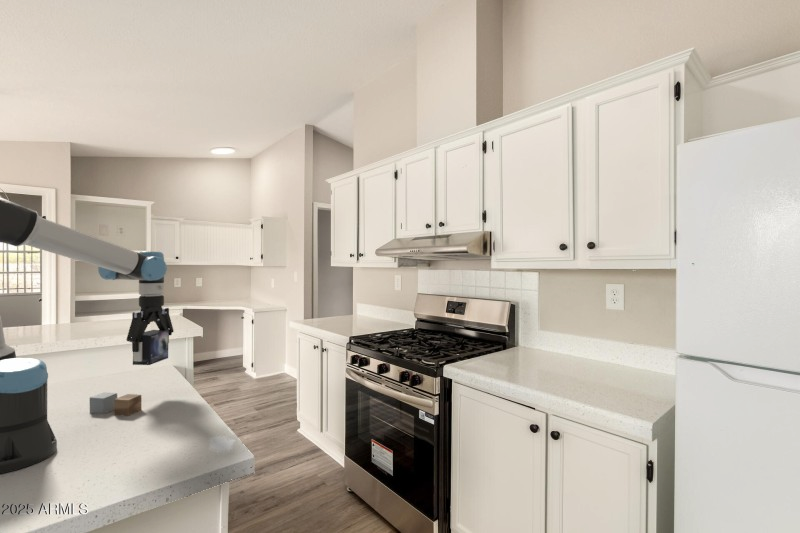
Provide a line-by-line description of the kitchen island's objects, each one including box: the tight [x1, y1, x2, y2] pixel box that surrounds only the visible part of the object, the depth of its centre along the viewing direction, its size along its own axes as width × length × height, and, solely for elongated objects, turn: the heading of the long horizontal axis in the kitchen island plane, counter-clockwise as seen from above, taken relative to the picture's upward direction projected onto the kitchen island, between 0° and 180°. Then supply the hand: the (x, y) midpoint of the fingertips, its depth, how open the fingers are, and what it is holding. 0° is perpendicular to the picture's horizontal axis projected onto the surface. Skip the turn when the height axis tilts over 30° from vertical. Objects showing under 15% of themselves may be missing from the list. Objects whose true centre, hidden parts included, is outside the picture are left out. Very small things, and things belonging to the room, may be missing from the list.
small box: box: [132, 329, 170, 366], centre depth 138 cm, size 11×6×10 cm, turn 179°
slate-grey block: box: [89, 391, 118, 415], centre depth 125 cm, size 5×5×5 cm
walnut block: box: [113, 393, 142, 417], centre depth 123 cm, size 5×5×5 cm
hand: (151, 357), depth 138 cm, fingers closed on small box, 11 cm apart
